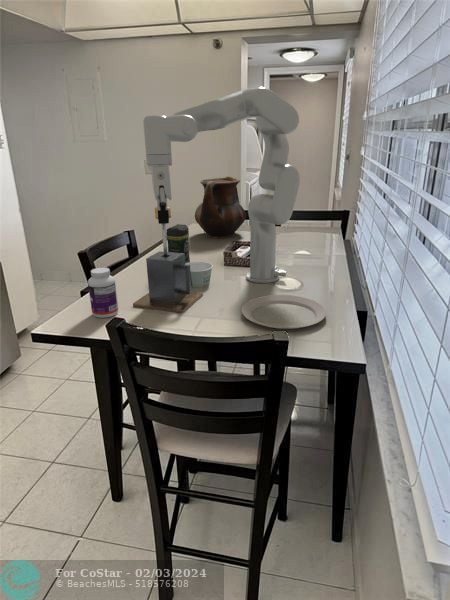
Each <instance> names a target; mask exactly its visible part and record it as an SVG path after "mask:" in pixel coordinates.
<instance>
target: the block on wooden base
mask: <svg viewBox="0 0 450 600" xmlns="http://www.w3.org/2000/svg"><path fill="white" fill-rule="evenodd" d="M167 254H168V257H164V251H162V250H161V251H158V252H155V253H154V254H152V255H150V256H148V257H147V258H145V262H146V272H147V284H148V292H147V293H146V294H145V295H143V296H141V297H140V298H139V299H137V300H136V301H134V302H132V307H136V308H142V309H150V310H155V311H165V312H173V313H181V314H184V313H185V312H186V311H187V310H188V309H189V308H190V307H192V306H193V305H194V304H195V303H196V302H197V301H198V300H199V299H201V298H202V297H203V295H204V294H203V292H200V291H199V292H197V291H192V286H191V273H190V265H185V253H174V252H168V251H167Z"/></svg>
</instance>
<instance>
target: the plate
mask: <svg viewBox="0 0 450 600" xmlns="http://www.w3.org/2000/svg"><path fill="white" fill-rule="evenodd" d="M272 304H273V305H275V304H289V305H296V306H300V307H303V308H305V309H308V310H309V311H311V312H312V313H313V314H314V320H313V321H311V322H308V323H306V324H302V325H297V326H275V325H271V324H270V325H269V324H266V323H262V322H261V321H258V320H256V319H255V318H254V317H253V315H252V314H253V312H254V311H255V310H256V309H257V308H259V307H262V306H266V305H267V306H268V305H272ZM240 311H241V314H242V315H243V317H245V318H246V319H247V320H249V321H250V322H252V323H254V324H257V325H260V326H264V327H267V328H271V329H276V330H277V329H278V330H279V329H280V330H293V329H294V330H295V329H302V328H305V327H306V328H307V327H310V326H314V325H317V324H318V323H320V322H321V321H323V320H324V319H325V318H326V315H327V311H326V309H325V307H324V306H323V305H322V304H320V303H319V302H317V301H316V300H313V299H310V298H307V297H303V296H299V295H298V296H297V295H288V294H270V295H263V296H259V297H255V298H252V299H250V300H248V301H246V302H245V303H244V304H243V305H242V307H241V310H240Z"/></svg>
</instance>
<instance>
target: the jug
mask: <svg viewBox="0 0 450 600" xmlns="http://www.w3.org/2000/svg"><path fill="white" fill-rule="evenodd" d="M199 181H200V184H201V185H202V186H203V190H204V192H203V193H204V194H203V198H202V202H201V203H200V204H198V206H197V207H196V210H195V213H194V218H195V219H194V220H195V222H196V223H197V224H198V226H199V227H200V228H201V229H202V230H203V232H204V233H205V236H206V237H208V236H209V237H208V238H213V237H217V238H216V239H223V237H226V238H231V237H234V236H235V235H236V232H237V231H238V229H239V228H240V227H242V225H243V223H244V222H245V221H246V219H247V213H246V210H245V209H244V207H243V206H242V205H241V203H240V200H239V199H240V198H239V192H238V185H239V183H241V180H240V179H239V178H236V177H235V178H234V177H232V176H229V175H228V176H225V177H218V178H217V177H216V178H215V177H214V178H206V179H201V180H199ZM233 235H234V236H233ZM230 236H231V237H230Z"/></svg>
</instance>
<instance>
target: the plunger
mask: <svg viewBox="0 0 450 600" xmlns="http://www.w3.org/2000/svg"><path fill="white" fill-rule="evenodd" d="M167 209H168V214H169V219H171V218H172V214H171V212H172V211H171V207H170V206H167ZM154 216H155V219H157V220H158V206H157V207H154ZM166 226H167V225H166V224H161V232H162V233H161V234H162V247H163V252H164V257H168V254H167V252H168V242H167V235H166V234H167V227H166Z"/></svg>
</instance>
